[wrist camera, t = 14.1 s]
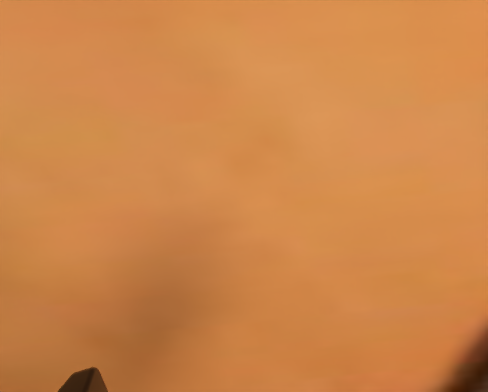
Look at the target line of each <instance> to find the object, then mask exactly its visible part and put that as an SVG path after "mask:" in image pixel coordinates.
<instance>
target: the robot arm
mask: <svg viewBox="0 0 488 392" xmlns="http://www.w3.org/2000/svg"><path fill="white" fill-rule="evenodd" d="M58 392H108V391H107V388H106V386H105V383H104V381H103V379H102V376H101V374H100V372H99V370H98V369H97V368H95V367H91V368H88V369H85V370H81V371H78V372H75V373H73V374H72V375H71V376H70V377H69V379H68V380H67V381H66V382H65V383H64V385H63V386H62V387H61V388H60V389H59V391H58Z"/></svg>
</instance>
